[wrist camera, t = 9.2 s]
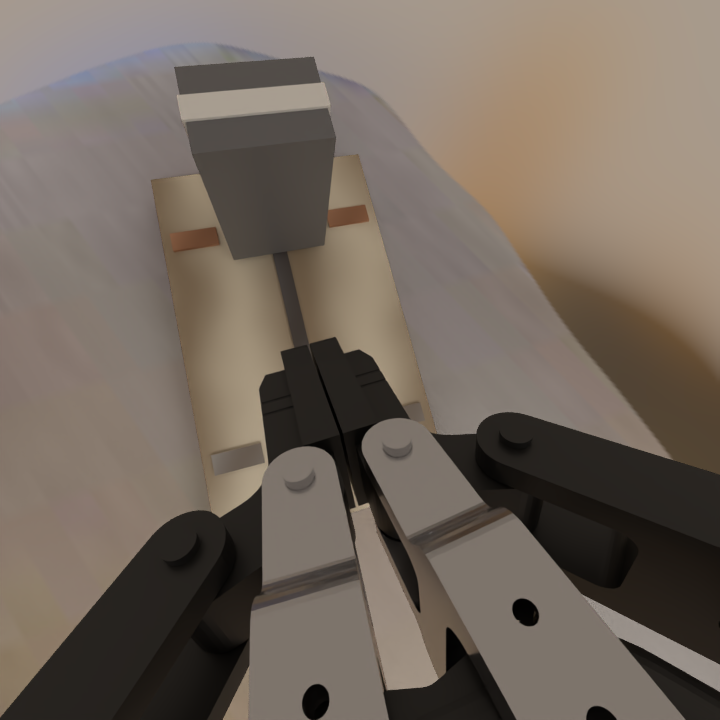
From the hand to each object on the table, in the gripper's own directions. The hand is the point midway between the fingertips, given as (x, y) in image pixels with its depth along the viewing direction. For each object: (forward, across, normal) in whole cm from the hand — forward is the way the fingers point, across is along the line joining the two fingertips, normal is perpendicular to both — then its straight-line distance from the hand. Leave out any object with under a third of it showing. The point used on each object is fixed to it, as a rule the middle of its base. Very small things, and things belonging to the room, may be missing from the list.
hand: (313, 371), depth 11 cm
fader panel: (+12, 0, +5) cm, 13 cm away
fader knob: (+14, -1, -1) cm, 14 cm away
